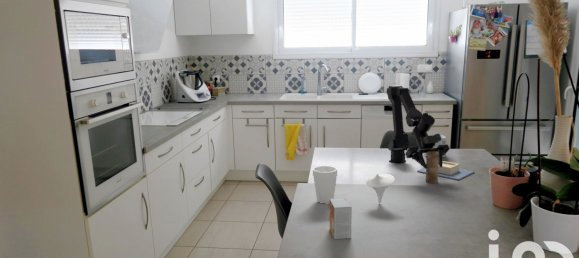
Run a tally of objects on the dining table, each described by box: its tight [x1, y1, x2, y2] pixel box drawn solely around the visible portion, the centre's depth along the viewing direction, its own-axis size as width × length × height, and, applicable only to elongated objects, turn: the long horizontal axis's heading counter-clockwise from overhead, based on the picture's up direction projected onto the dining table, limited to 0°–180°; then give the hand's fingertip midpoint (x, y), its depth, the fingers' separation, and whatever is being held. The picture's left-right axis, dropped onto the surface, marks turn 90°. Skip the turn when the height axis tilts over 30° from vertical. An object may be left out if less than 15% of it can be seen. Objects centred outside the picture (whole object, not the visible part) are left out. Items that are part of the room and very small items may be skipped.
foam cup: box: [312, 165, 338, 203], centre depth 164 cm, size 10×9×13 cm
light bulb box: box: [423, 134, 447, 158], centre depth 229 cm, size 11×7×11 cm, turn 84°
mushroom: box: [365, 173, 396, 204], centre depth 160 cm, size 10×11×12 cm
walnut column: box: [425, 151, 439, 184], centre depth 185 cm, size 5×5×13 cm
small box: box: [329, 197, 353, 240], centre depth 135 cm, size 8×6×10 cm
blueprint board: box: [417, 160, 475, 181], centre depth 199 cm, size 20×16×4 cm
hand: (433, 167), depth 184 cm, fingers open, 7 cm apart
